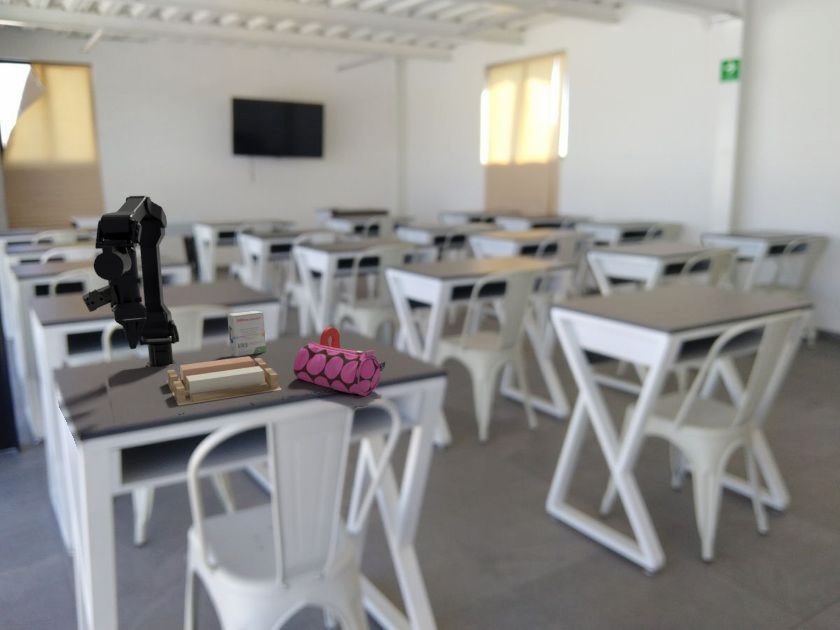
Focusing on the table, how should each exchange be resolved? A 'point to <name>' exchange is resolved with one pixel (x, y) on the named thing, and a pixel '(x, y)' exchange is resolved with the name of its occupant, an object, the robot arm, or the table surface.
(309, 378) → the pencil case
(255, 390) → the rack
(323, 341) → the bracket
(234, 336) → the ink box
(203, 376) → the long ivory plank
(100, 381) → the table surface
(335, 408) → the table surface
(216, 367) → the fired brick
